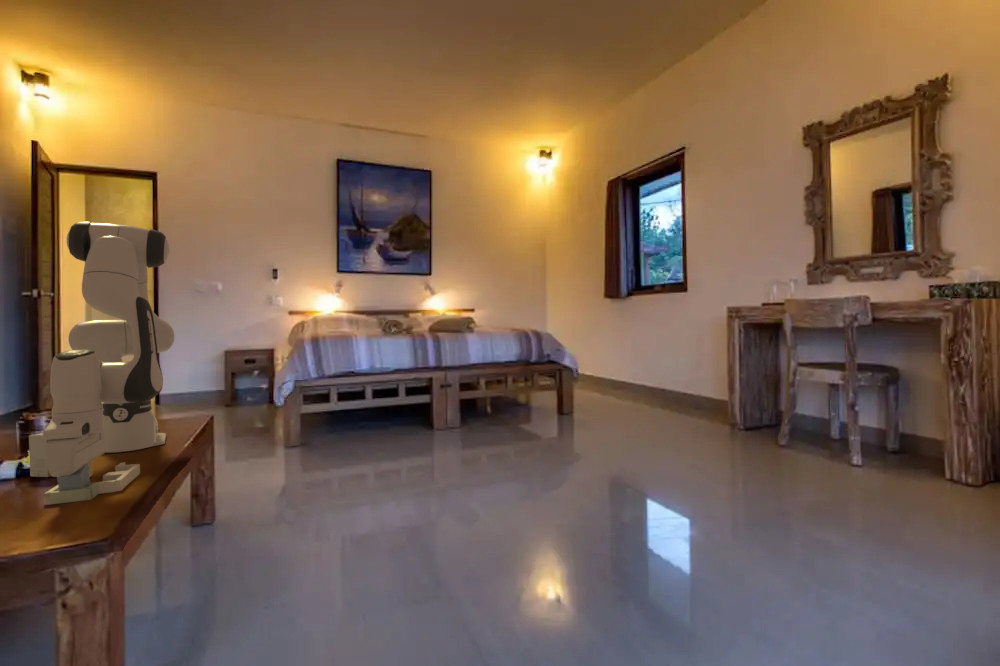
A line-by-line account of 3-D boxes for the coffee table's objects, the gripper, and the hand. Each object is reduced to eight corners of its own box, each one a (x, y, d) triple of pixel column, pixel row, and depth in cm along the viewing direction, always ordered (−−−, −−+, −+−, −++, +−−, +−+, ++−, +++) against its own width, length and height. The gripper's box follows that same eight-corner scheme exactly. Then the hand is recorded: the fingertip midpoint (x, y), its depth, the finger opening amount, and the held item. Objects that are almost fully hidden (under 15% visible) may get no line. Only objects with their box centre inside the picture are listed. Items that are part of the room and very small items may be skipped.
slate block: (69, 490, 113) (64, 466, 111) (91, 487, 114) (86, 464, 112) (61, 501, 109) (56, 476, 107) (84, 498, 110) (80, 474, 109)
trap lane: (87, 475, 127) (86, 466, 127) (144, 469, 131) (143, 460, 131) (44, 505, 107) (43, 493, 106) (113, 497, 111) (113, 486, 111)
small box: (47, 478, 126) (45, 435, 126) (29, 477, 127) (27, 435, 127) (80, 468, 134) (78, 428, 134) (62, 467, 135) (61, 428, 135)
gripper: (80, 416, 122) (83, 473, 123) (38, 434, 103) (41, 501, 104) (112, 414, 125) (114, 470, 125) (76, 430, 105) (79, 497, 106)
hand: (81, 485), depth 114 cm, fingers closed
